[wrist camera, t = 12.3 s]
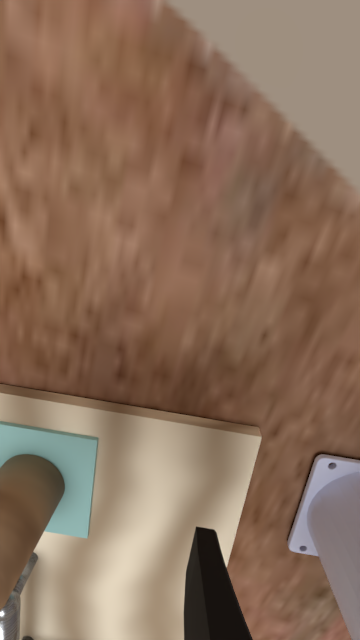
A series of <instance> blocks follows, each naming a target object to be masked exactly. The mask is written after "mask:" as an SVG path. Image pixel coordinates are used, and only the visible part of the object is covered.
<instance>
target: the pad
mask: <svg viewBox="0 0 360 640" xmlns="http://www.w3.org/2000/svg"><path fill="white" fill-rule="evenodd" d="M98 440H99V438H98V437H92V436H86V435H80V434H74V433H68V432H62V431H57V430H51V429H45V428H39V427H33V426H27V425H21V424H15V423H9V422H3V421H0V467H1V466H2V465H3V464H4V463H5V462H6V461H7V460H8V459H10V458H11V457H14V456H17V455H22V454H30V455H36V456H39V457H42V458H44V459H46V460H48V461H49V462H51V463H52V464H53V465H54V466H55V467H56V468H57V469H58V470H59V472H60V473H61V475H62V477H63V480H64V484H65V490H64V494H63V497H62V498H61V500H60V502H59V504H58V506H57V508H56V510H55V512H54V514H53V515H52V517H51V519H50V521H49V523H48V525H47V527H46V529H45V532H51V533H57V534H63V535H69V536H75V537H81V538H88V535H89V527H90V517H91V507H92V498H93V488H94V478H95V469H96V459H97V449H98Z"/></svg>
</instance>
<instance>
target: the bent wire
mask: <svg viewBox="0 0 360 640" xmlns="http://www.w3.org/2000/svg"><path fill="white" fill-rule="evenodd" d="M37 560H38V555H37V554H36V553H34V552H33V553H32V555H31V557H30V559H29V561H28V563H27V564H26V566H25V568H24V570H23V572H22V574H21V576H20V578H19V580H18V581H17V583H16V585H15V587H14V589H13V591H12V593H11V595H10V596H9V598H8V600H7V602H6V604H5V606H4V607H3V608H2V609H1V610H0V640H20V606H21V598H20V595H21V593H22V591H23V588H24V586H25V584H26V582H27V580H28V578H29V576H30V574H31V572H32V570H33V568H34V566H35V564H36V562H37ZM22 640H34V639H33V638H32V637H30V636H24V637H23V638H22Z"/></svg>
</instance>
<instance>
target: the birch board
mask: <svg viewBox="0 0 360 640" xmlns="http://www.w3.org/2000/svg"><path fill="white" fill-rule="evenodd" d="M0 421H3V422H9V423H15V424H21V425H27V426H33V427H39V428H45V429H51V430H57V431H62V432H68V433H74V434H80V435H86V436H92V437H98V438H99V440H98V449H97V459H96V469H95V478H94V488H93V498H92V507H91V517H90V527H89V535H88V538H81V537H75V536H69V535H63V534H57V533H51V532H45V531H44V532H43V534H42V536H41V538H40V540H39V542H38V544H37V546H36V547H35V549H34V551H33V552H34V553H36V554H37V555H38V560H37V562H36V564H35V566H34V568H33V570H32V572H31V574H30V576H29V578H28V580H27V582H26V584H25V586H24V588H23V591H22V593H21V595H20V598H21V606H20V640H22V638H23V637H24V636H30V637H32V638H33V639H34V640H184V596H185V579H186V569H187V565H188V560H189V556H190V551H191V547H192V542H193V538H194V533H195V529H196V526H197V527H203V528H208V529H214V530H215V531H216V533H217V537H218V541H219V544H220V548H221V552H222V555H223V558H224V562H225V565H226V568H227V565H228V561H229V557H230V553H231V550H232V546H233V542H234V539H235V535H236V531H237V528H238V524H239V520H240V516H241V513H242V509H243V505H244V502H245V498H246V494H247V490H248V487H249V483H250V479H251V476H252V472H253V468H254V465H255V461H256V457H257V453H258V450H259V446H260V442H261V439H262V436H261V433H260V430H259V427H254V426H248V425H242V424H236V423H231V422H225V421H219V420H213V419H207V418H201V417H195V416H189V415H183V414H177V413H171V412H165V411H159V410H153V409H147V408H141V407H136V406H130V405H124V404H118V403H112V402H106V401H100V400H94V399H88V398H82V397H76V396H70V395H64V394H58V393H52V392H46V391H41V390H35V389H29V388H23V387H17V386H11V385H5V384H0Z"/></svg>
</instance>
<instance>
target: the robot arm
mask: <svg viewBox="0 0 360 640" xmlns="http://www.w3.org/2000/svg"><path fill="white" fill-rule="evenodd" d="M330 463H333V464H331V465H329V464H330ZM288 547H289V549H290V550H291V551H293V552H297V553H302V554H308V555H314V556H319V558H320V561H321V563H322V566H323V568H324V571H325V573H326V576H327V578H328V581H329V584H330V586H331V589H332V591H333V594H334V596H335V599H336V601H337V604H338V606H339V609H340V611H341V614H342V616H343V619H344V621H345V624H346V626H347V629H348V632H349V634H350V637H351V639H352V640H360V460H355V459H349V458H343V457H337V456H331V455H325V454H321V455H318V456H317V457H316V458H315V460H314V463H313V466H312V469H311V472H310V475H309V478H308V481H307V484H306V487H305V490H304V493H303V496H302V499H301V502H300V505H299V509H298V512H297V515H296V518H295V521H294V524H293V527H292V530H291V533H290V536H289V539H288ZM184 640H253V639H252V637H251V634H250V632H249V629H248V627H247V624H246V622H245V619H244V617H243V614H242V611H241V608H240V606H239V603H238V600H237V598H236V595H235V592H234V589H233V586H232V583H231V580H230V577H229V574H228V571H227V568H226V565H225V562H224V558H223V555H222V552H221V548H220V544H219V541H218V537H217V533H216V531H215V530H214V529H208V528H203V527H197V526H196V529H195V533H194V538H193V542H192V547H191V551H190V556H189V560H188V565H187V569H186V579H185V596H184Z"/></svg>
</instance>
